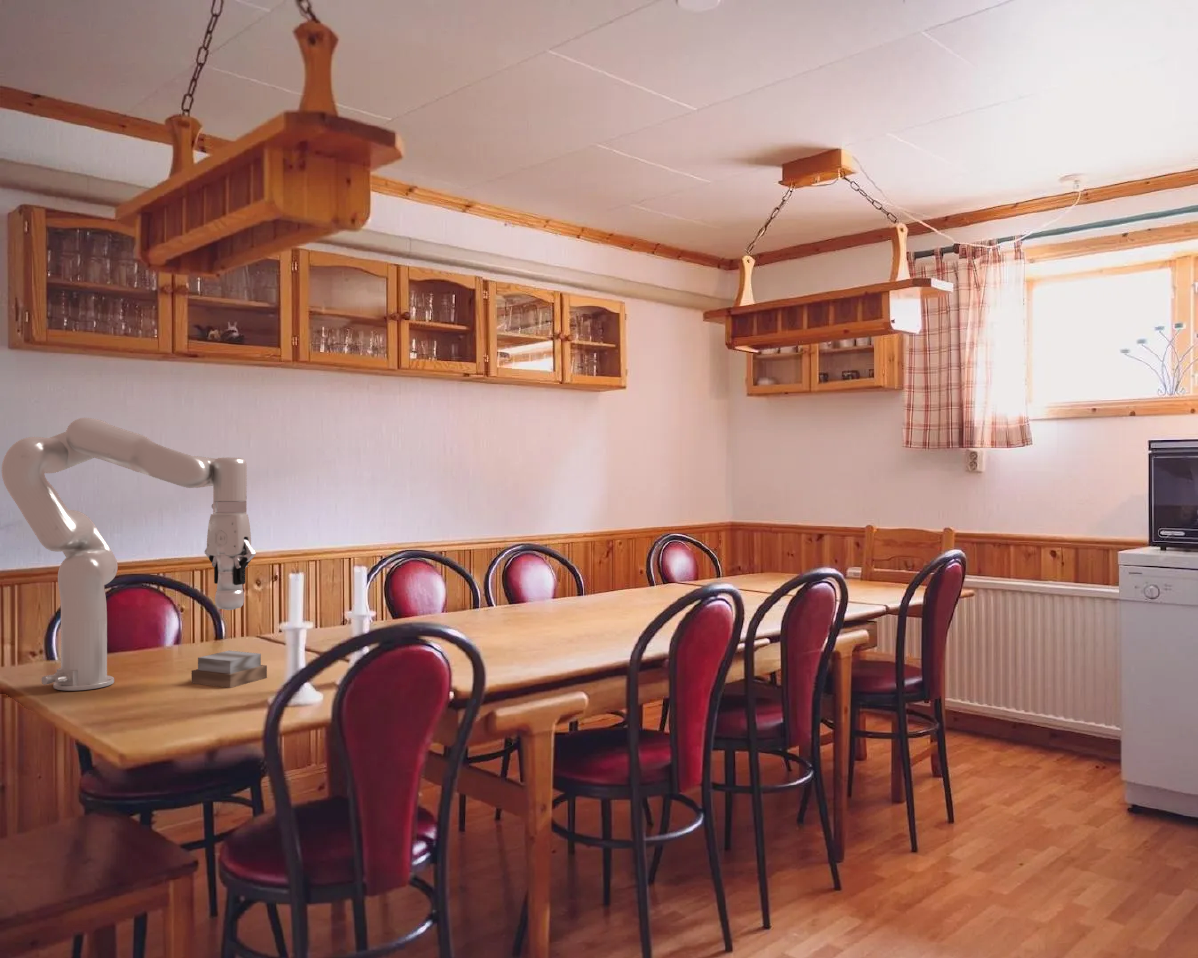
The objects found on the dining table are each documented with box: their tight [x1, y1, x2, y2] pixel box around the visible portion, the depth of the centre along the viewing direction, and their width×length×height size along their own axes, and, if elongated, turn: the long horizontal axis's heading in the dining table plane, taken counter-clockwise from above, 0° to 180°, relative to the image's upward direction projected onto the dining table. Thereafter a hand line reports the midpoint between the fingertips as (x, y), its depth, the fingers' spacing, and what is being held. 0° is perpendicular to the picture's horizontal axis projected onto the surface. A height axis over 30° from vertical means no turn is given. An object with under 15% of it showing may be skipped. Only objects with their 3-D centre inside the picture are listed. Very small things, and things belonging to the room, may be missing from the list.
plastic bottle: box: [214, 546, 245, 611], centre depth 231 cm, size 6×7×20 cm
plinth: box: [191, 650, 268, 689], centre depth 232 cm, size 12×12×6 cm
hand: (229, 582), depth 231 cm, fingers closed on plastic bottle, 5 cm apart
